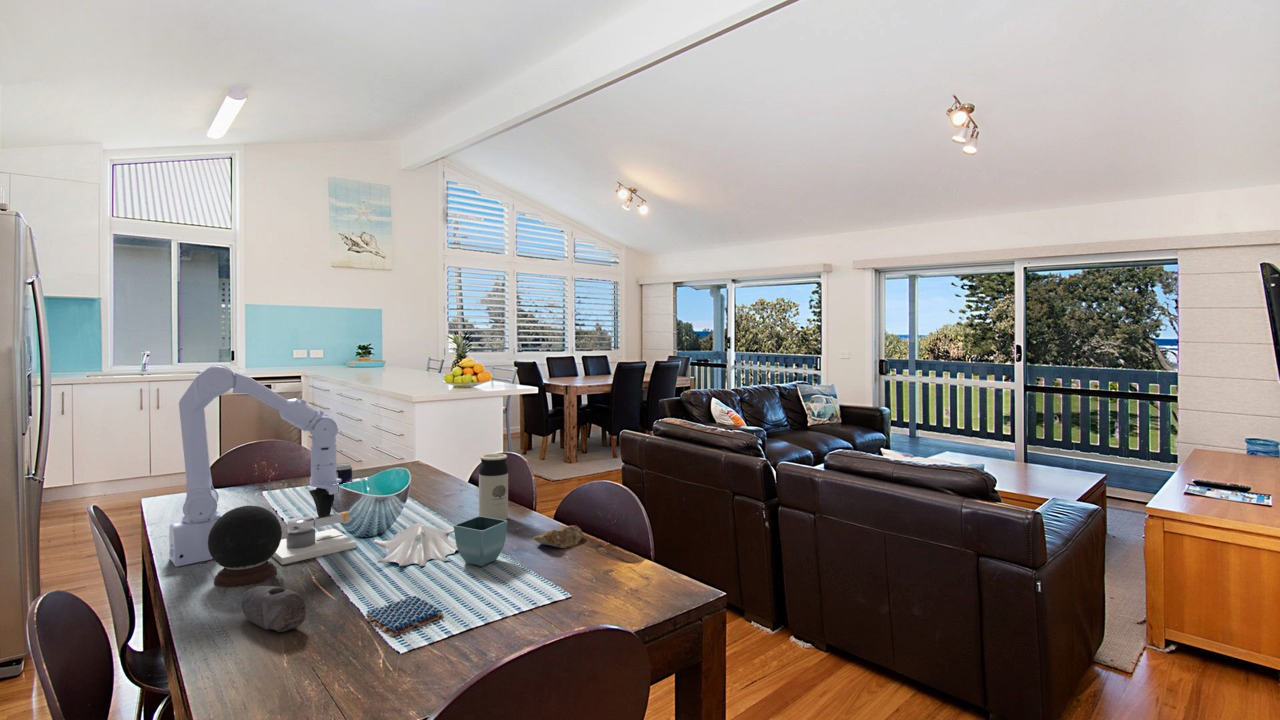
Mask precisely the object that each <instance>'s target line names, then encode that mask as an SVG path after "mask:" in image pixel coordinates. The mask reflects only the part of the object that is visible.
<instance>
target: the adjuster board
mask: <svg viewBox="0 0 1280 720" xmlns="http://www.w3.org/2000/svg"><path fill="white" fill-rule="evenodd" d="M285 534H286V536H285V537H286V538H281V541H280V544H279V547H278V549H277V550H276V552H275V553H274V554H273V556H272V558H274V559H275V560H276V561H277V562H279V563H280V564H281V565H287V564H292V563H297V562H301V561H304V560H307V559H309V560H310V559H313V558H317V557H321V556H322V557H323V556H326V555H330V554H334V553H335V554H336V553H339V552H343V551H347V550H352V549H356V548H357V541H356V540H354V539H352V538H351V537H349V536H348V535H346V534H345V533H343V532H341V531H339V530H337V529H336V528H331V529H325V530H321V531H317V532H316V529H315V528H314V530H313V531H311V532H308V533H303V534H289V533H287V532H286V533H285Z"/></svg>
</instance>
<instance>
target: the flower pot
mask: <svg viewBox="0 0 1280 720" xmlns="http://www.w3.org/2000/svg"><path fill="white" fill-rule="evenodd" d="M507 528H508V520H507V519H506V520H502V519H495V518H489V517H484V516H479V515H478V516H475V517H473V518H469V519H467V520H464V521H461V522H459V523H456V524H454V525H453V532H454V538H455V545H456V548H457V551H458V553H459V555H460V556H461V559H463V561H464V562H465V563H466V564H471V565H475V566H479V567H483V566H485V565H488V564H490V563H491V562H494V561H496V560H497V559H498V558H499V556H500V554H501V553H502V551H503V549H504V546H505V543H506V536H507V530H508V529H507Z"/></svg>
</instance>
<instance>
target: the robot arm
mask: <svg viewBox="0 0 1280 720" xmlns="http://www.w3.org/2000/svg"><path fill="white" fill-rule="evenodd" d="M230 390H232V394H241V395H242V394H243V395H245V394H246V395H249V396H251V397H253V399H254V398H255V399H256V400H258V401H260V402H263V403H264V404H266V405H268V406H270V407H272V408H274V409H275V410H278V411H279V415H280V418H281V419H282V420H284V421H286V422H287V423H289V424H291V425H293V426H295V428H296V427H297V428H298V429H300V430H301V431H304V432H309V433H310V435H312V436H311V445H310V477H309V485H310V487H313V488H314V489H310V490H309V494H310V496H311V497H312V499H313V501H314V505H315V508H316V513H317V517H321V516H326V515H331V513H332V509H333V508H332V507H333V505H334V503H333V501H334V494H338V493H339V486H338V485H337V483H339V482H341V479H340V478H337V479H336V464H337V443H336V442H337V438H336V436H337V434H338V432H339V428H338V424H337V423H336V421H335V420H334V419H333V418H331V417H330V416H329V415H328V414H325V412H324V411H323V410H322V409H320V410H317V409H316V408H314V407H312V406H311V405H309V404H307V400H305V399H304V398H300V399H298V398H297V397H296V398H290V399H286V398H285V397H283V396H282V395H280V394H278V392H275V391H273V390H272V389H271V388H269V387H267V386H265V385H264V384H262V383H261V382H259V381H258V380H255V379H253V378H252V377H250V376H249V375H246V374H244V373H241V372H238V371H236V370H234V371H232V370H231V369H230V368H229V367H228V366H226V365H222V364H216V365H212V366H210V367H208V368H206V369H205V370H203V371H202V372H201V373H199V374H198V375H197V376H196V377H195V378H194V379H193V381H192V382H191V384H190V385H189V387H188V388H187V390H185V392H184V394H183V395H182V396H181V398H180V399H179V401H178V409H179V418H180V419H179V421H180V427H181V428H180V429H181V438H182V449H183V459H184V469H185V476H186V477H185V480H186V481H185V482H186V483H185V484H186V485H185V487H186V488H185V491H186V497H185V502H184V503H183V504H182V505H183V506H182V513H183V515H184V516H182V518H181V520H180V521H178V522H174V523H171V524H170V525H169V533H168V534H169V539H168V540H169V550H168V551H169V554H168V555H169V557H168V558H169V560H170V561H171V562H172V563H173V565H174V566H175V567H177V568H178V567H181V566H187V565H191V564H195V563H201V562H202V563H203V562H205V561H211V560H214V559H213V558H212V557H211V555H210V552H209V549H208V536H209V533H210V530H211V528H212V527H213V525H214V524H215V522H216V521H217V520H218V519H219V518H220V517H221V513H220V512H218V503H219V493H218V491H217V490H216V489H215V488H214V485H213V479H212V473H211V463H210V454H209V444H208V443H209V442H208V432H207V423H206V414H205V413H206V412H205V408H206V407H207V406H208V405H209V404H210V403H212V401H214V399H216V398H217V397H220V396H223V395H224V394H226V393H227V392H229V391H230ZM326 483H327V484H326ZM325 484H326V485H325ZM333 484H336V485H333Z"/></svg>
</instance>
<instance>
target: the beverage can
mask: <svg viewBox="0 0 1280 720" xmlns="http://www.w3.org/2000/svg"><path fill="white" fill-rule="evenodd" d="M337 478H340V479H341V482H339V484H343V483H348V482H352V483H353V467H352V465H351V463H350V462H340V463H339V462H338V463H336V479H337Z"/></svg>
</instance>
